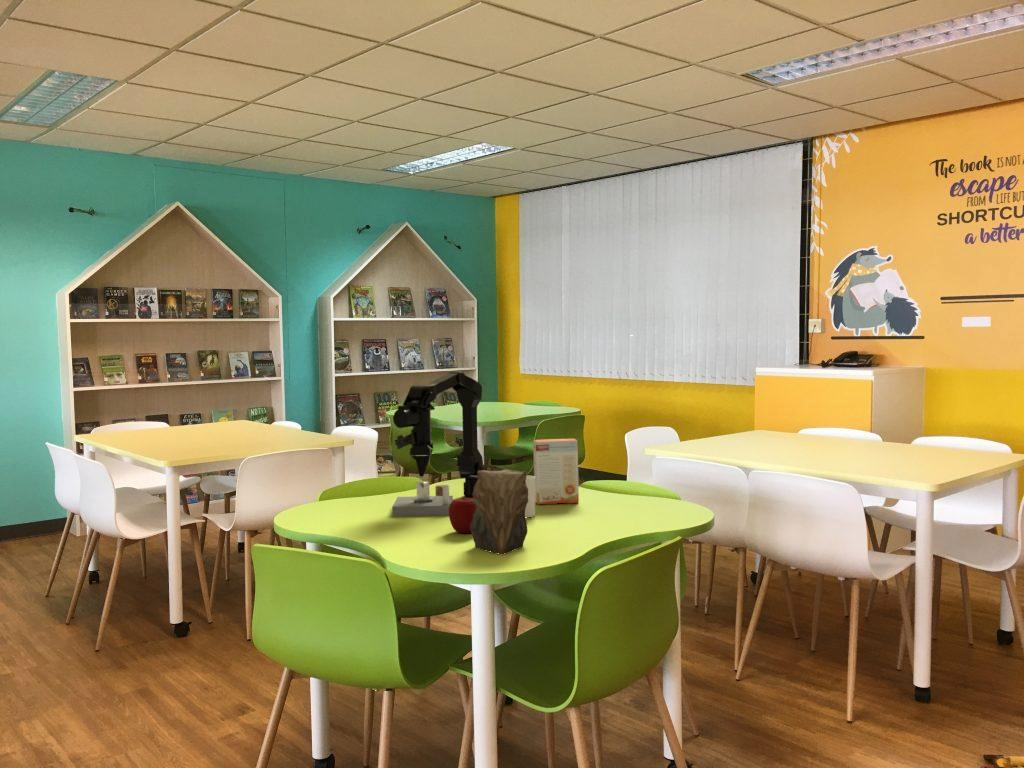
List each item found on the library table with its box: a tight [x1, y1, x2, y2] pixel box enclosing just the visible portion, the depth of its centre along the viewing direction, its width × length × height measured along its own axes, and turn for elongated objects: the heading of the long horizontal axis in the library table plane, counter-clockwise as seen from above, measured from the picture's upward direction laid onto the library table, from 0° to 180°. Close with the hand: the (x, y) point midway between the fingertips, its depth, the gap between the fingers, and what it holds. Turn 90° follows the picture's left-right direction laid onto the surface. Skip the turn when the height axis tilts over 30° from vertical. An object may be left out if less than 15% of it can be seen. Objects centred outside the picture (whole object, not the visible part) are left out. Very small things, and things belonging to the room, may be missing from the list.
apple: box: [448, 496, 477, 534], centre depth 237 cm, size 10×10×10 cm
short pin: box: [434, 484, 444, 496], centre depth 282 cm, size 4×4×5 cm
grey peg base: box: [391, 484, 454, 517], centre depth 267 cm, size 18×16×9 cm
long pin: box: [416, 480, 430, 503], centre depth 267 cm, size 4×4×9 cm
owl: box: [470, 468, 528, 555], centre depth 220 cm, size 13×13×20 cm
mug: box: [525, 474, 536, 518], centre depth 256 cm, size 10×7×12 cm, turn 109°
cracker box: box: [533, 437, 580, 506], centre depth 276 cm, size 14×6×21 cm, turn 97°
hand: (422, 474), depth 267 cm, fingers open, 9 cm apart
